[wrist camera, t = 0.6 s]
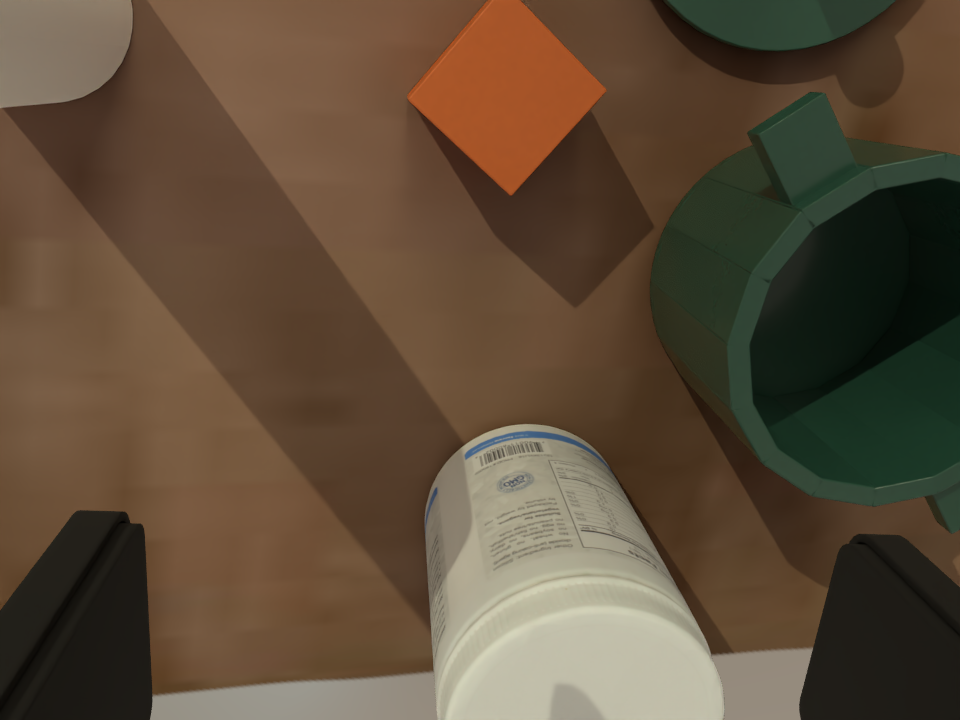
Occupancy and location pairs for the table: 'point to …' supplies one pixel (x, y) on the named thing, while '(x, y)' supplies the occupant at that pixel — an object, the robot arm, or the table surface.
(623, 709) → the supplement tub
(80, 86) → the cylindrical container
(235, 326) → the table surface
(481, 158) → the block
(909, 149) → the green cooking pot
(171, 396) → the table surface
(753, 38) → the lid
